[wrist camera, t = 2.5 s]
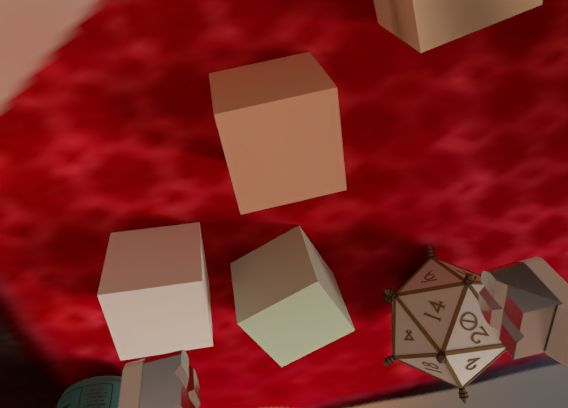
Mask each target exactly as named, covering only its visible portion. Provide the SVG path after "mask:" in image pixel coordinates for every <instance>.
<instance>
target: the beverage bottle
mask: <svg viewBox="0 0 568 408" xmlns="http://www.w3.org/2000/svg"><path fill="white" fill-rule="evenodd" d="M121 379H122V377H121V376H96V377H91V378H87V379H84V380H81V381H79V382H77V383H75V384H73V385H71V386H70V387H69V388H68V389H67V390H65V392H64V393H63V395H62V396H61V398H60V399H59V400H58V401H59V402H58V401H57V402H58V404H57V406H56V407H57V408H118V403H119V395H120V387H121ZM55 405H56V404H55ZM54 407H55V406H54Z"/></svg>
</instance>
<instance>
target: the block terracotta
mask: <svg viewBox="0 0 568 408" xmlns="http://www.w3.org/2000/svg"><path fill="white" fill-rule="evenodd" d="M209 81H210V89H211V96H212V104H213V112H214V117H215V121H216V125H217V128H218V132H219V136H220V139H221V143H222V147H223V151H224V154H225V158H226V162H227V166H228V169H229V173H230V177H231V181H232V184H233V188H234V192H235V196H236V199H237V203H238V207H239V211H240V214H241V215H242V214H246V213H250V212H255V211H259V210H263V209H267V208H272V207H276V206H280V205H284V204H289V203H293V202H297V201H302V200H306V199H310V198H314V197H319V196H323V195H327V194H331V193H336V192H340V191H344V190H347V188H346V177H345V166H344V155H343V144H342V134H341V123H340V112H339V101H338V90H337V86H336V85H335V84H334V82H333V81H332V80H331V78H330V77H329V76H328V75H327V73H326V72H325V71H324V69H323V68H322V67H321V65H320V64H319V63H318V62H317V60H316V59H315V58H314V56H313V55H312V54H311V52H305V53H301V54H296V55H292V56H287V57H282V58H278V59H273V60H268V61H264V62H259V63H255V64H250V65H245V66H241V67H236V68H231V69H227V70H222V71H218V72H213V73H209Z"/></svg>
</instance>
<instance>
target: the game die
mask: <svg viewBox="0 0 568 408" xmlns="http://www.w3.org/2000/svg"><path fill="white" fill-rule="evenodd" d="M433 250H434V249H433V248H432V247H431V246H430V245H429V244H428V247H427V249H426V250H425V251H426V252H427V254H426V255H428V257H429V259H428V260H427V261H426V262H425V263H424V264H423V265H422V266H421V267H420V268H419V269H418V270H417V271H416V272H415V273H414V274H413V275H412V276H411V277H410V278H409V279H408V280H407V281H406V282H405V283H404V284H403V285H402V286H401V287H400V288H399V290H398V291H397V292H396V293H395V291H394V290H392V289H391V288H388V289H384V292H385V296H383V297H382V298H383V299H384V301H385V303H386V302H388V303H391V312H392V353H393V355H392V356H388V357H387V358H385V360H384V363H383V366H386V365H390V364H392V363H393V362H394V360H398V361H401V362H403V363H405V364H407V365H409V366H411V367H414V368H416V369H418V370H420V371H422V372H425V373H427V374H429V375H431V376H433V377H435V378H438V379H440V380H442V381H444V382H446V383H449V384H451V385H453V386H455V387H457V388H459V395H460V397H459V398H461V400H462V401H463V402H464V403H465V404H466V401H467V398H468V397H469V396H468V395H467V392H466V390H465V387H466V386H467V385H468V384H469V383H470V382H472V381H473V380H474V379H475V378H476V377H477V376H478V375H479V374H481V373H482V372H483V371H484V370H485V369H486V368H487V367H488V366H490V365H491V364H492V363H493V362H494V361H495V360H496V359H498V358H499V357H500V356H501V355H502V354H503V353H504V352H505V351H507V349H506V348H505V347H504V345H503V344H502V342H501V341H500V340H499V336H500V331H499V330H497V329H495V328H493V327H491V326H489V324H488V323H487V321H486V320H485V318H484V316H483V314H482V312H481V310H480V306H479V302H478V300H479V292H480V291H481V290H482V288H483V287H484V285H483V284H482V282H481V281H480V280H481V275H479V274H477V273H474V272H471V271H469V270H466V269H464V268H461V267H458V266H456V265H453V264H451V263H448V262H445V261H443V260H440V259H438V258H435V257H434V253H435V252H434V251H433Z"/></svg>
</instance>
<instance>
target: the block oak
mask: <svg viewBox="0 0 568 408" xmlns="http://www.w3.org/2000/svg"><path fill="white" fill-rule="evenodd" d="M373 1H374V6H375V11H376V16H377V21H378V24H379V25H381V26H382V27H384V28H385V29H387V30H388V31H389V32H391V33H392V34H394V35H395V36H397V37H398V38H400V39H401V40H402V41H404V42H405V43H407V44H408V45H410V46H411V47H413V48H414V49H415V50H417V51H418V52H420V53H423V52H425V51H428V50H430V49H433V48H435V47H438V46H440V45H443V44H445V43H448V42H450V41H453V40H455V39H458V38H460V37H463V36H465V35H468V34H470V33H473V32H475V31H478V30H480V29H482V28H485V27H487V26H490V25H492V24H495V23H497V22H500V21H502V20H505V19H507V18H510V17H512V16H515V15H517V14H520V13H522V12H525V11H527V10H530V9H532V8H535V7H537V6H540V5H542V4H543V0H373Z"/></svg>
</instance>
